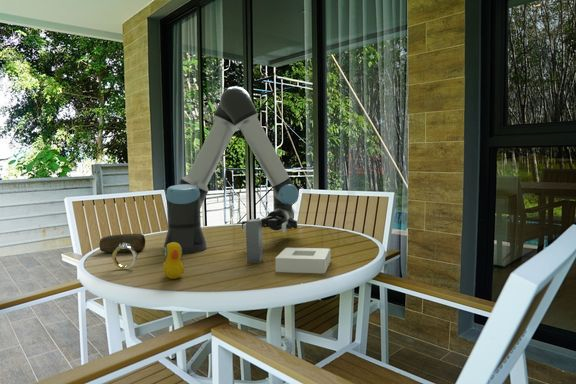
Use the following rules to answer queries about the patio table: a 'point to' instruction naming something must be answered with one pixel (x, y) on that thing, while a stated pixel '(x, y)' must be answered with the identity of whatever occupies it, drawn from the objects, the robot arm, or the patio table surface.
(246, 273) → the patio table surface
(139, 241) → the stone weight
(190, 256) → the patio table surface
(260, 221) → the tall dark grey pillar
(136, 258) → the ring
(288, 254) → the well block
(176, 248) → the duckling
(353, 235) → the patio table surface
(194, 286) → the patio table surface
